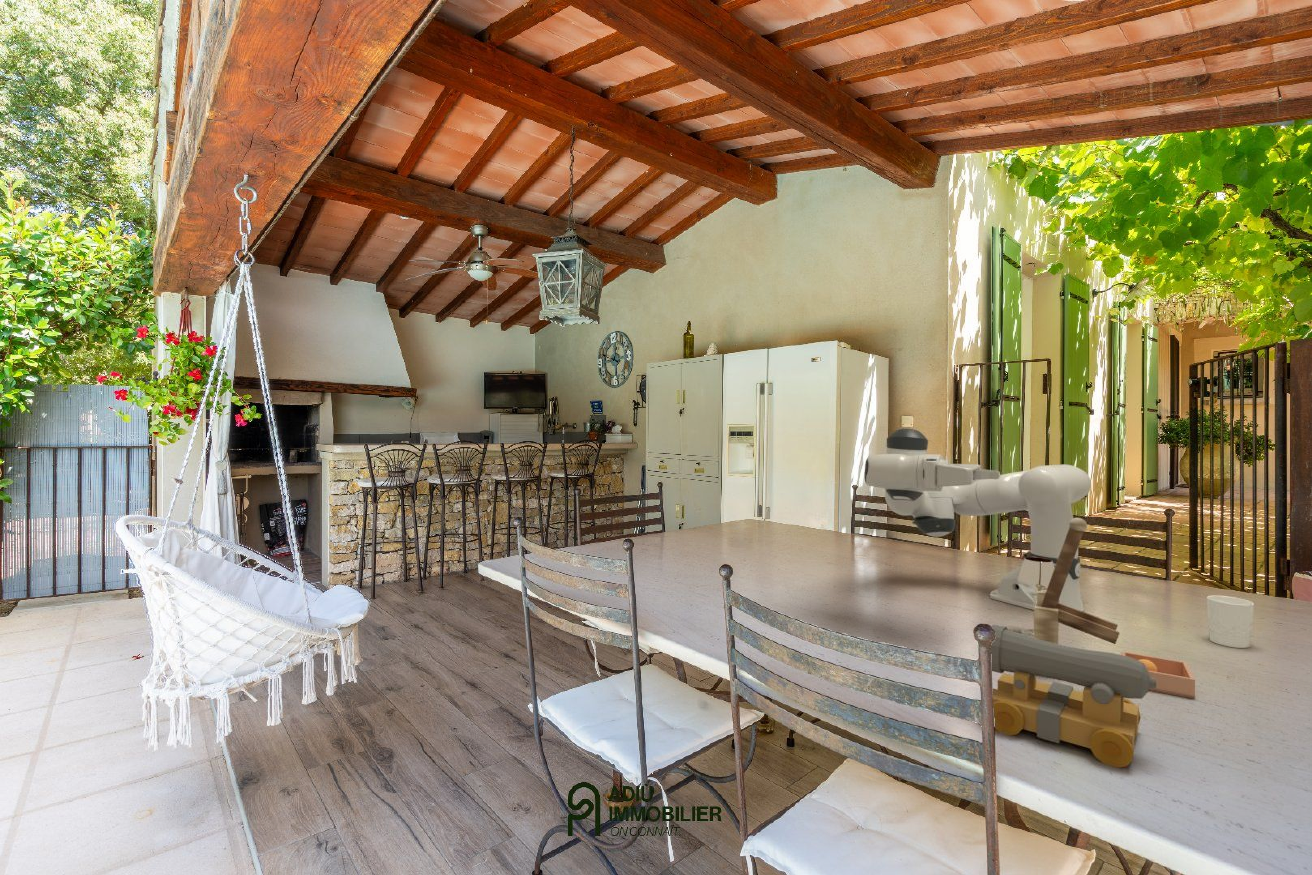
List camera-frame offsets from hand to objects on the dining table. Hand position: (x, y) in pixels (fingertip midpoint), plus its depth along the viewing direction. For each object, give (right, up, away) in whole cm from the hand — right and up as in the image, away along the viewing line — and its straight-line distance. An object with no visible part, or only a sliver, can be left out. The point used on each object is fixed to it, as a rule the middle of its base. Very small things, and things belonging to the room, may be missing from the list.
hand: (999, 474), depth 139 cm
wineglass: (+12, -39, +6) cm, 41 cm away
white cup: (+54, -39, +2) cm, 67 cm away
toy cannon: (-11, -39, -40) cm, 57 cm away
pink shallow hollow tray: (+19, -39, -21) cm, 48 cm away
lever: (+8, -30, -13) cm, 34 cm away
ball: (+17, -37, -20) cm, 45 cm away
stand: (+4, -39, -11) cm, 40 cm away
